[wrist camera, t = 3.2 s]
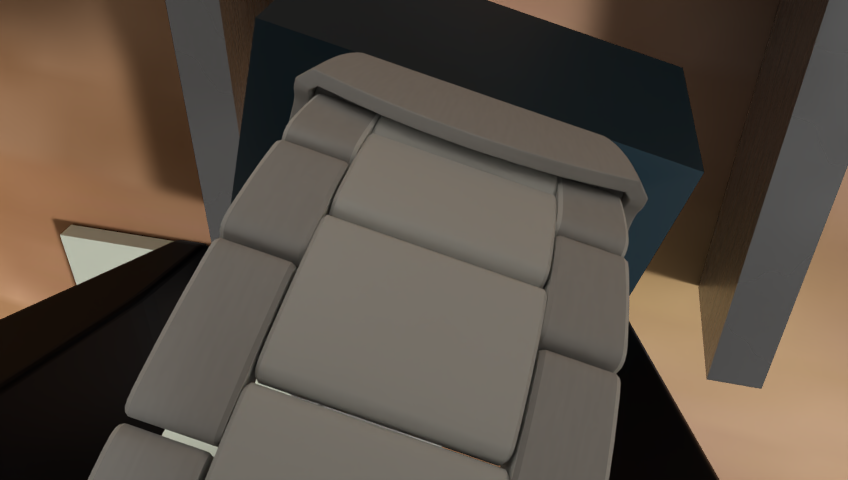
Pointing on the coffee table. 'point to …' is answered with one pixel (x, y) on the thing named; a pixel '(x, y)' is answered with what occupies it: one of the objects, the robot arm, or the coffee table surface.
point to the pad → (105, 252)
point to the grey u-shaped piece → (744, 198)
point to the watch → (419, 252)
